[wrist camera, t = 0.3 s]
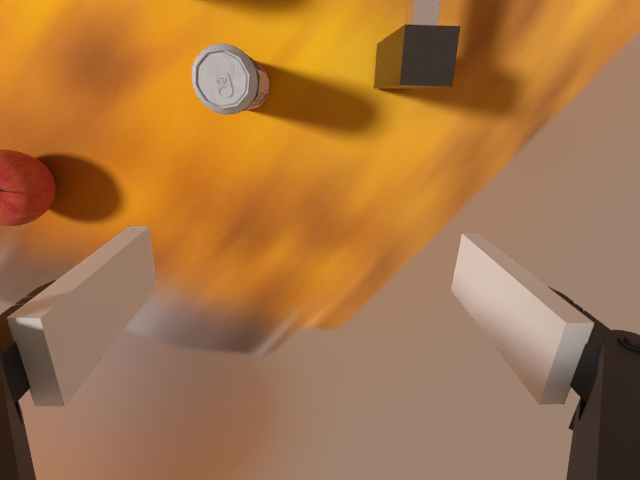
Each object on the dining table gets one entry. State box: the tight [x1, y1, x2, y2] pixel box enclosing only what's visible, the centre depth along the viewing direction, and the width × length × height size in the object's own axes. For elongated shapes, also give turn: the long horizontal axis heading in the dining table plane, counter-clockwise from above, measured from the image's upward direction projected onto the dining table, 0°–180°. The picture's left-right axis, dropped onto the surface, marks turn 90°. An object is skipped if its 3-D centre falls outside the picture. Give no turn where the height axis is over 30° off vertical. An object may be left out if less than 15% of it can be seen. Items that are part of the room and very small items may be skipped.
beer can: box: [192, 44, 270, 115], centre depth 31 cm, size 5×5×12 cm
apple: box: [0, 149, 56, 226], centre depth 36 cm, size 7×7×8 cm
